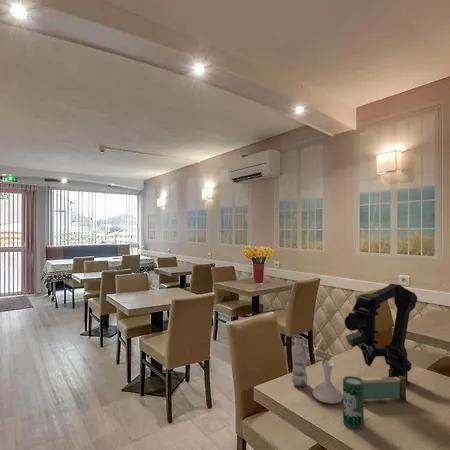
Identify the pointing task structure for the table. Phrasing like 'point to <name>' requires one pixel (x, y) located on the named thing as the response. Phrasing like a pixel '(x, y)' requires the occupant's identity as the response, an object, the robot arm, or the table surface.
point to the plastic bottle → (299, 362)
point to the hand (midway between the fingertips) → (368, 365)
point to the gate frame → (390, 400)
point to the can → (353, 403)
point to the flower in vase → (326, 381)
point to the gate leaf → (381, 388)
